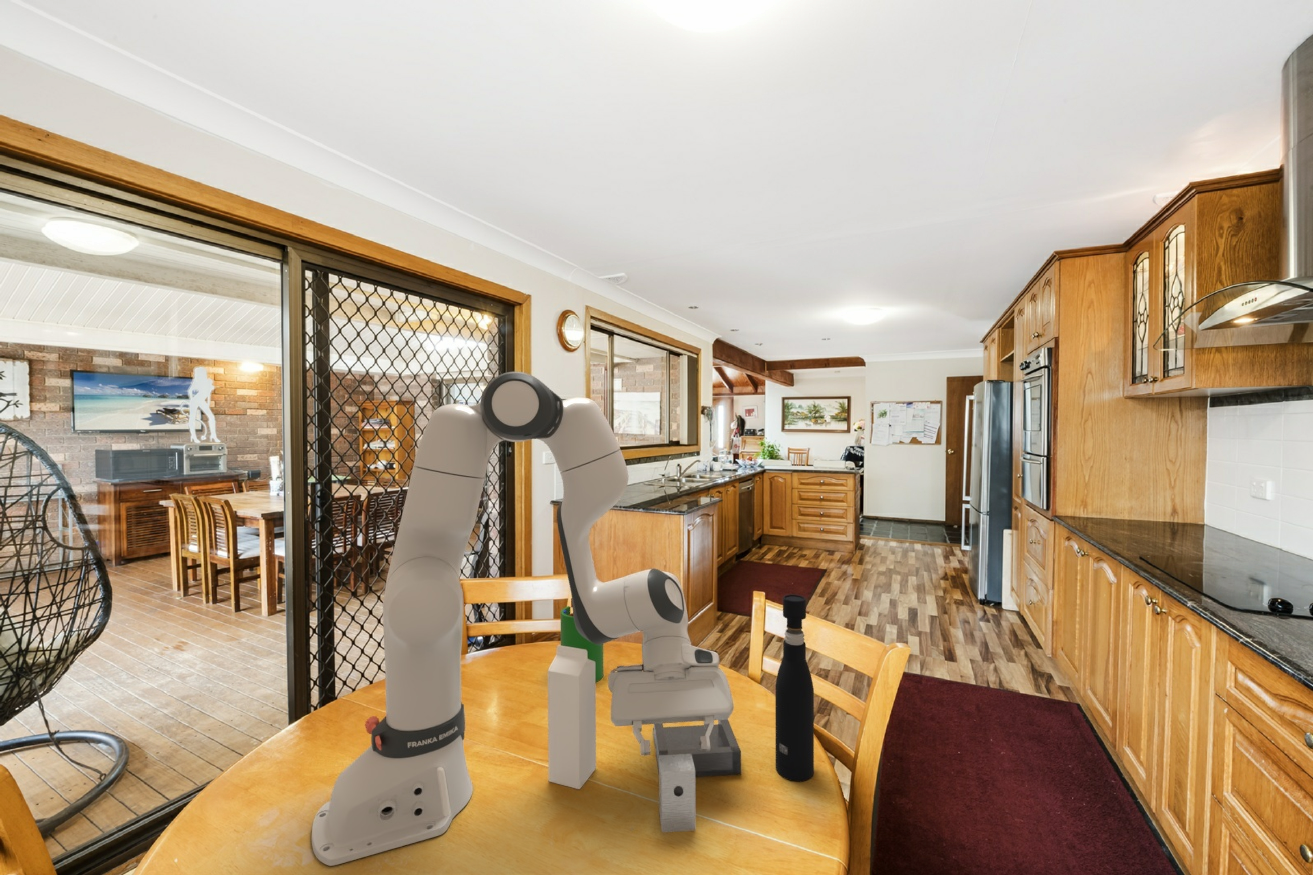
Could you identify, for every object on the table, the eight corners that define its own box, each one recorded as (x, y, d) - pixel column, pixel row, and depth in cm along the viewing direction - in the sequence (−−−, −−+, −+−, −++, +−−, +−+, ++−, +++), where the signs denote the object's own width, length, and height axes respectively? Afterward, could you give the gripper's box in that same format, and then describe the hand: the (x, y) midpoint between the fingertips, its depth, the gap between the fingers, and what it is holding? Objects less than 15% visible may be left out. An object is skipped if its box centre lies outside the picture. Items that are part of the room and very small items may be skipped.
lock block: (659, 813, 83) (659, 755, 83) (691, 811, 83) (691, 753, 83) (661, 833, 79) (661, 772, 79) (695, 831, 79) (695, 770, 79)
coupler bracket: (652, 732, 105) (652, 712, 105) (723, 729, 106) (723, 709, 106) (659, 779, 91) (659, 756, 91) (740, 774, 92) (740, 751, 92)
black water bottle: (813, 761, 96) (813, 593, 95) (813, 785, 89) (814, 605, 89) (776, 756, 97) (776, 590, 97) (774, 778, 91) (774, 602, 91)
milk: (566, 761, 96) (565, 638, 96) (596, 769, 94) (596, 643, 94) (547, 782, 90) (546, 651, 90) (579, 790, 88) (578, 656, 88)
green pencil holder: (606, 669, 133) (605, 588, 132) (598, 686, 124) (598, 600, 124) (565, 667, 134) (565, 587, 133) (555, 684, 125) (554, 599, 125)
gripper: (607, 659, 91) (608, 751, 81) (727, 653, 93) (742, 742, 83) (608, 673, 95) (609, 762, 86) (722, 667, 97) (735, 753, 88)
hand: (675, 752), depth 84 cm, fingers open, 8 cm apart
